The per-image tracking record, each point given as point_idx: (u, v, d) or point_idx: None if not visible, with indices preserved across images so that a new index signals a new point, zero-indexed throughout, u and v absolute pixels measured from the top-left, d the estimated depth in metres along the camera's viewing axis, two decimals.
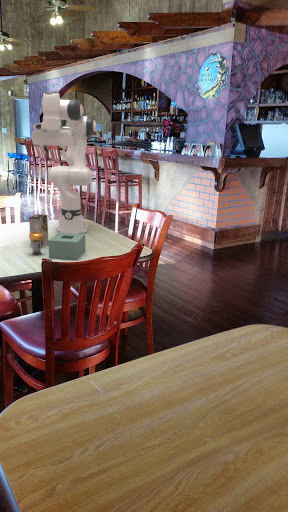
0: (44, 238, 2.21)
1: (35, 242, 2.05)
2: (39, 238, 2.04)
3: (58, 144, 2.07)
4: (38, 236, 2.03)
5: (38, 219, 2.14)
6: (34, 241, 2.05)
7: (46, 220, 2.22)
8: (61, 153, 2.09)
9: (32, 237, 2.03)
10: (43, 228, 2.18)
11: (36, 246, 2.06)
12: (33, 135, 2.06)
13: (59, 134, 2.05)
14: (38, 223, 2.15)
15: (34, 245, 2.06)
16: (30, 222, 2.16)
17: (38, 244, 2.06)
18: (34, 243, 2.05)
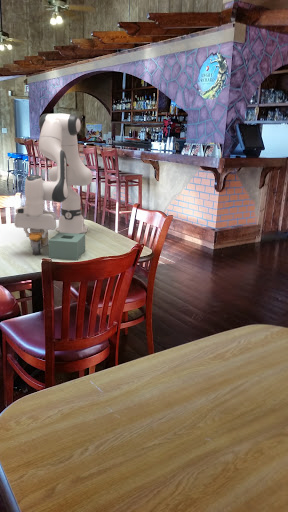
0: (44, 238, 2.21)
1: (35, 242, 2.05)
2: (39, 238, 2.04)
3: (41, 228, 2.03)
4: (38, 236, 2.03)
5: None
6: (34, 241, 2.05)
7: None
8: (43, 236, 2.05)
9: (32, 237, 2.03)
10: None
11: (36, 246, 2.06)
12: (16, 218, 2.02)
13: (42, 218, 2.01)
14: None
15: (34, 245, 2.06)
16: None
17: (38, 244, 2.06)
18: (34, 243, 2.05)
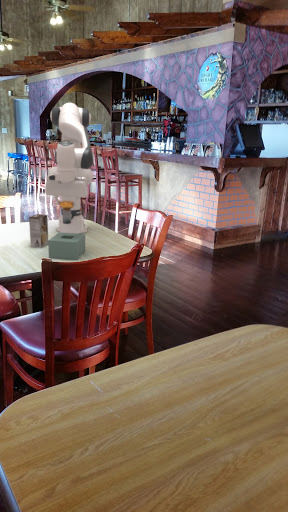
0: (44, 238, 2.21)
1: (65, 210, 2.02)
2: (70, 206, 2.01)
3: (72, 195, 1.99)
4: (69, 204, 2.00)
5: (38, 219, 2.14)
6: (65, 209, 2.02)
7: (46, 220, 2.22)
8: (74, 204, 2.01)
9: (63, 205, 2.00)
10: (43, 228, 2.18)
11: (67, 214, 2.02)
12: (47, 186, 1.99)
13: (74, 185, 1.98)
14: (38, 223, 2.15)
15: (65, 213, 2.02)
16: (30, 222, 2.16)
17: (69, 212, 2.02)
18: (65, 211, 2.02)
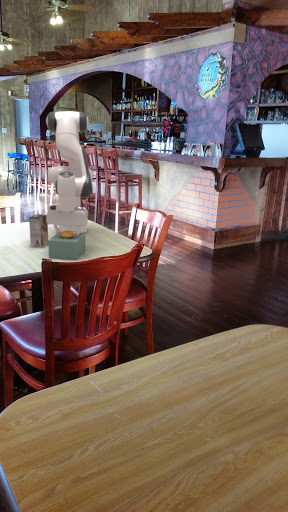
0: (44, 238, 2.21)
1: None
2: (71, 237, 2.05)
3: (73, 224, 2.04)
4: (70, 235, 2.05)
5: (38, 219, 2.14)
6: None
7: None
8: (76, 233, 2.06)
9: (63, 235, 2.04)
10: (43, 228, 2.18)
11: None
12: (48, 215, 2.03)
13: (74, 215, 2.02)
14: (38, 223, 2.15)
15: None
16: (30, 222, 2.16)
17: None
18: None
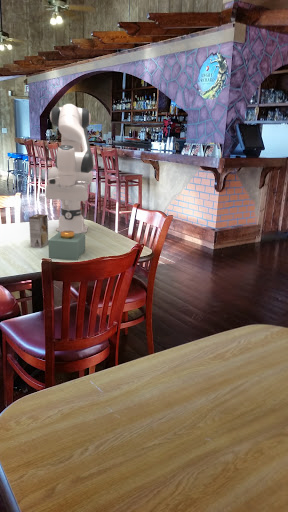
0: (44, 238, 2.21)
1: None
2: (71, 237, 2.05)
3: (73, 199, 2.00)
4: (70, 235, 2.05)
5: (38, 219, 2.14)
6: None
7: (46, 220, 2.22)
8: (68, 207, 2.02)
9: (63, 235, 2.04)
10: (43, 228, 2.18)
11: None
12: (47, 190, 1.99)
13: (74, 189, 1.98)
14: (38, 223, 2.15)
15: None
16: (30, 222, 2.16)
17: None
18: None
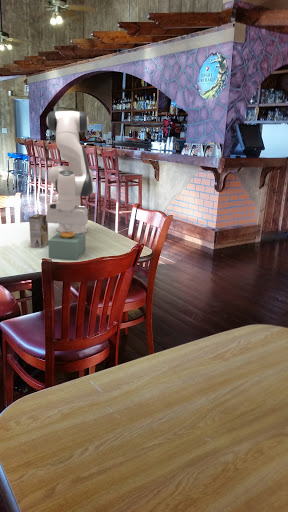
0: (44, 238, 2.21)
1: None
2: (71, 237, 2.05)
3: (73, 223, 2.03)
4: (70, 235, 2.05)
5: (38, 219, 2.14)
6: None
7: None
8: (68, 231, 2.06)
9: (63, 235, 2.04)
10: (43, 228, 2.18)
11: None
12: (47, 214, 2.03)
13: (74, 213, 2.02)
14: (38, 223, 2.15)
15: None
16: (30, 222, 2.16)
17: None
18: None
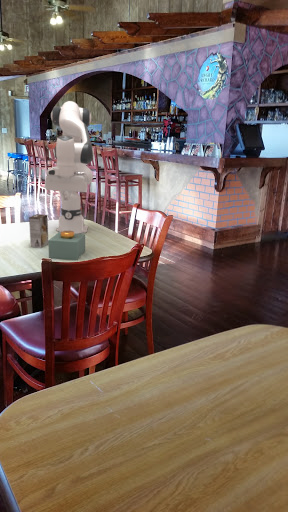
0: (44, 238, 2.21)
1: None
2: (71, 237, 2.05)
3: (72, 190, 1.99)
4: (70, 235, 2.05)
5: (38, 219, 2.14)
6: None
7: (46, 220, 2.22)
8: (67, 198, 2.02)
9: (63, 235, 2.04)
10: (43, 228, 2.18)
11: None
12: (46, 181, 1.99)
13: (73, 180, 1.98)
14: (38, 223, 2.15)
15: None
16: (30, 222, 2.16)
17: None
18: None
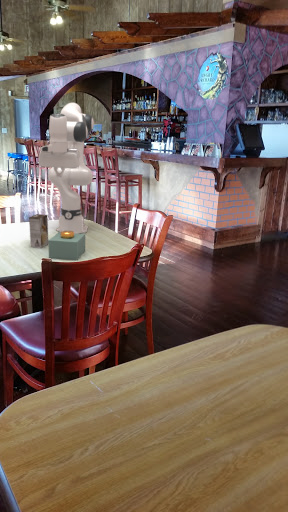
0: (44, 238, 2.21)
1: None
2: (71, 237, 2.05)
3: (65, 166, 2.07)
4: (70, 235, 2.05)
5: (38, 219, 2.14)
6: None
7: (46, 220, 2.22)
8: (60, 174, 2.09)
9: (63, 235, 2.04)
10: (43, 228, 2.18)
11: None
12: (40, 157, 2.06)
13: (66, 156, 2.05)
14: (38, 223, 2.15)
15: None
16: (30, 222, 2.16)
17: None
18: None
